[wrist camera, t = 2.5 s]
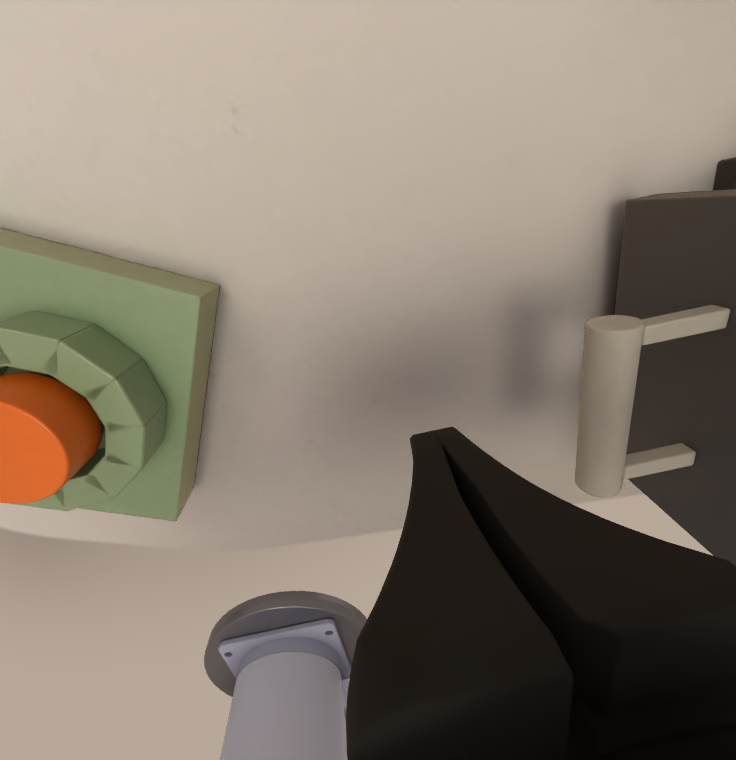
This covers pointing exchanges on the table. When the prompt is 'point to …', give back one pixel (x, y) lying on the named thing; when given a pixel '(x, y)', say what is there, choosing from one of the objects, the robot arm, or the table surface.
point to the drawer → (668, 367)
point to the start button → (42, 436)
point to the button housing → (114, 365)
